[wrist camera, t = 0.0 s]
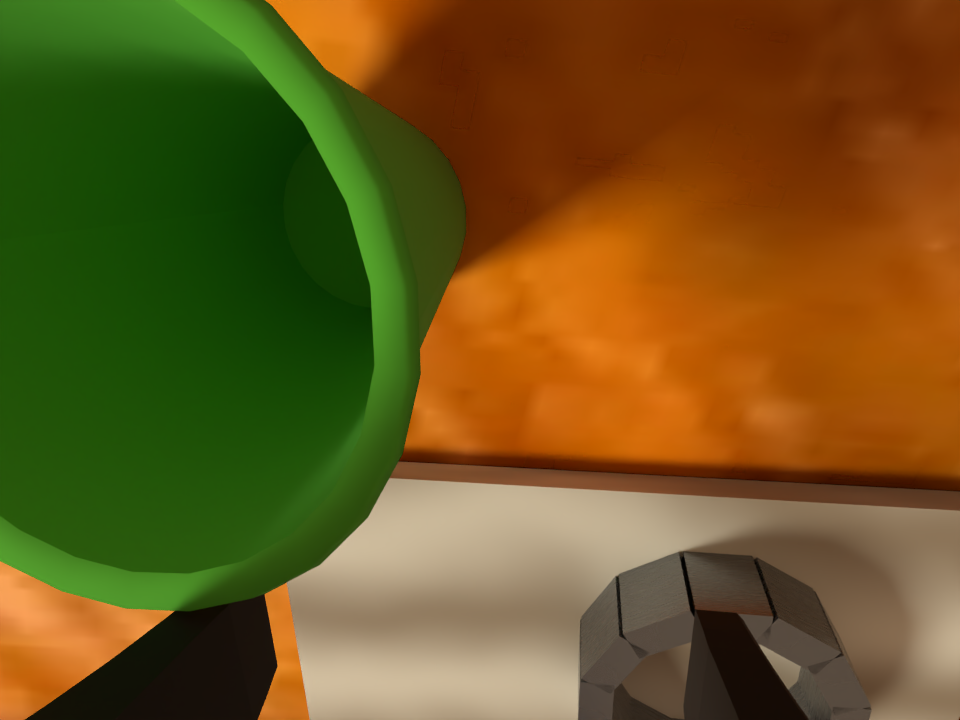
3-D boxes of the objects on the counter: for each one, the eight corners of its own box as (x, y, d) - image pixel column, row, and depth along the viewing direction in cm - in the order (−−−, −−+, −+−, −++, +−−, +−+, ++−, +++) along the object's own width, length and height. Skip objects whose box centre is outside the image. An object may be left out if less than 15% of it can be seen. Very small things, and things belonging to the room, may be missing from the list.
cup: (516, 396, 19) (386, 686, 9) (228, 340, 21) (-159, 537, 11) (567, 55, 16) (456, -74, 6) (225, 18, 18) (-318, -135, 8)
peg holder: (915, 780, 24) (965, 888, 21) (322, 715, 27) (287, 801, 24) (1008, 494, 20) (1090, 575, 16) (280, 455, 23) (230, 518, 19)
